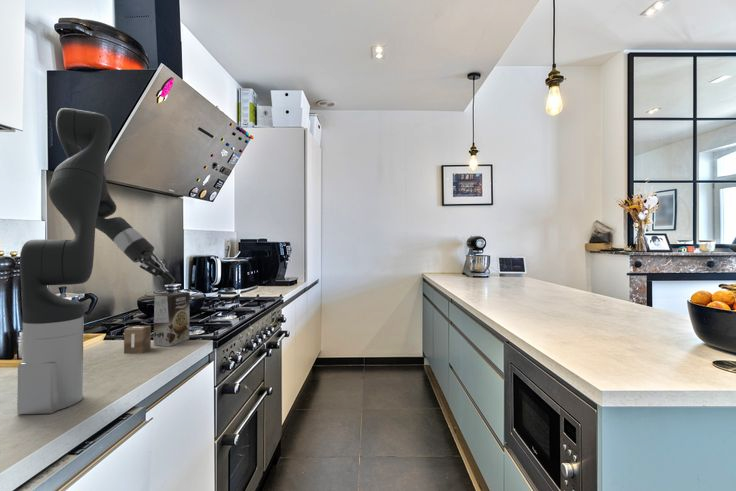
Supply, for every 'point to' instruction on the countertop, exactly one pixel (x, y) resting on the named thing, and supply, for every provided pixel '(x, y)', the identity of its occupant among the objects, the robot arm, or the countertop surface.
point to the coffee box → (171, 318)
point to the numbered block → (137, 339)
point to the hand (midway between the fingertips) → (172, 282)
